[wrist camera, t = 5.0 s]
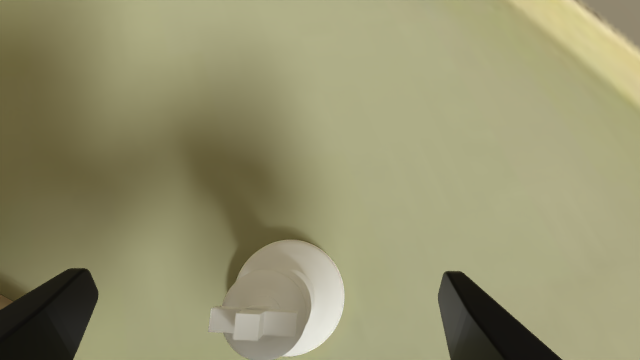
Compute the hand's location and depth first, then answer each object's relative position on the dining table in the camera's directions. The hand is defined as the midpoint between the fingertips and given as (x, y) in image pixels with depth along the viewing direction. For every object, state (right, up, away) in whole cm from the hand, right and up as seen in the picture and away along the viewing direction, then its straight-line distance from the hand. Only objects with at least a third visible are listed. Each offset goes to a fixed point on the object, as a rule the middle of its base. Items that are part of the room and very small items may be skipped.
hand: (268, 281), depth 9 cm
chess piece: (0, -3, +7) cm, 8 cm away
